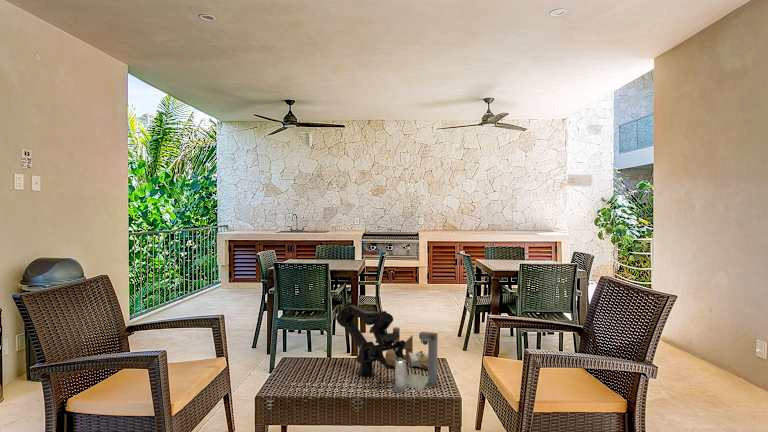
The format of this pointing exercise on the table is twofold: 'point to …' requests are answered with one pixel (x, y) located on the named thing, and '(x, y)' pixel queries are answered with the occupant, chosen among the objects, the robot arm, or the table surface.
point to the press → (431, 379)
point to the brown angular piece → (408, 345)
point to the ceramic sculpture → (419, 359)
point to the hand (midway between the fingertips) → (395, 364)
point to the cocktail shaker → (400, 374)
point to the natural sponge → (391, 357)
